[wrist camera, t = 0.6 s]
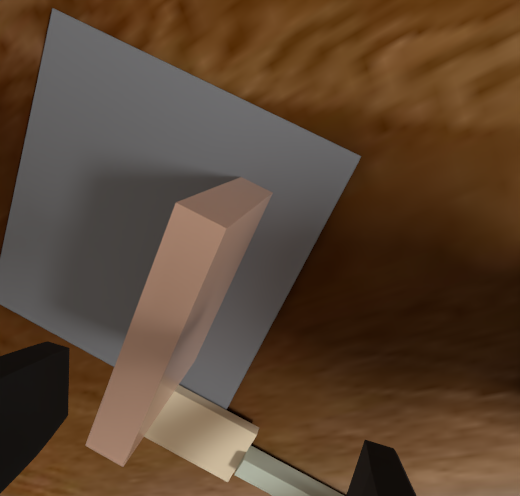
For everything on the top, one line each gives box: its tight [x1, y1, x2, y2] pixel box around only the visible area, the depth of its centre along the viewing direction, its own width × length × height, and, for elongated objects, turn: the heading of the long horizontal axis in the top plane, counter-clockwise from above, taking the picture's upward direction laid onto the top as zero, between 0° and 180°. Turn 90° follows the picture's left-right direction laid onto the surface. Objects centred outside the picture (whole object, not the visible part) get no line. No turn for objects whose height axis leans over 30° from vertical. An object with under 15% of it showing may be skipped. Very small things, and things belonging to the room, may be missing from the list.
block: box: [85, 177, 273, 467], centre depth 16 cm, size 2×10×7 cm, turn 155°
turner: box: [144, 385, 344, 496], centre depth 21 cm, size 16×4×1 cm, turn 66°
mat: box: [0, 8, 361, 410], centre depth 19 cm, size 15×16×1 cm
